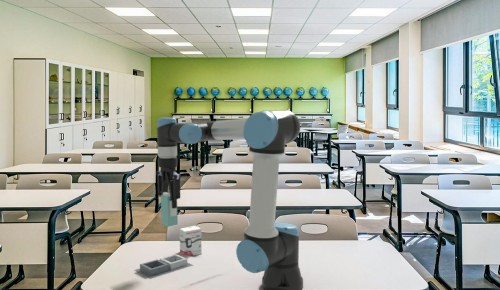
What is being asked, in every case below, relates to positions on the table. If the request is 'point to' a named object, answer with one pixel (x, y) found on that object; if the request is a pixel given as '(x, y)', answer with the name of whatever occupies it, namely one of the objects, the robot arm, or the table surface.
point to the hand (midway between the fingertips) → (169, 214)
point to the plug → (167, 211)
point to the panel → (163, 266)
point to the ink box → (190, 241)
